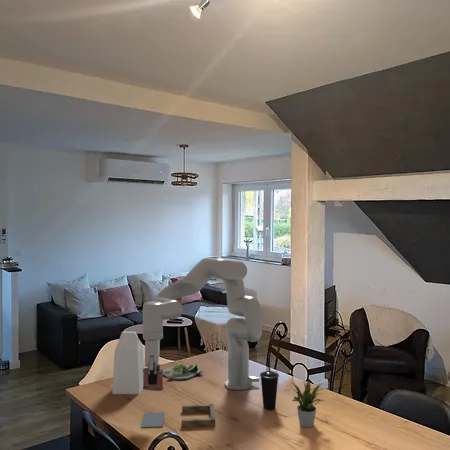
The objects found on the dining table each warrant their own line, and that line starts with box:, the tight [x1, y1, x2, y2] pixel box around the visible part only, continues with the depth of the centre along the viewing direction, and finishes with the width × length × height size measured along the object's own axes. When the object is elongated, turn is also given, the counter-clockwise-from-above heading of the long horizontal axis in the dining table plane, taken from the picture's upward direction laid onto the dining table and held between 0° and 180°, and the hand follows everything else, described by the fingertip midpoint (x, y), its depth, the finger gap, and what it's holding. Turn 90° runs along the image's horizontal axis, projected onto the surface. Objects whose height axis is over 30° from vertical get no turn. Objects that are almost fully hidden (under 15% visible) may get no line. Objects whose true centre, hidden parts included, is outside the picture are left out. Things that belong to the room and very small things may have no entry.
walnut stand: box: [181, 403, 216, 428], centre depth 174 cm, size 12×14×2 cm
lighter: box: [142, 363, 164, 392], centre depth 172 cm, size 8×3×10 cm, turn 77°
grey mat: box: [140, 411, 165, 429], centre depth 173 cm, size 8×12×1 cm, turn 5°
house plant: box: [292, 380, 326, 429], centre depth 168 cm, size 14×14×16 cm
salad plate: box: [163, 363, 203, 380], centre depth 222 cm, size 19×18×5 cm
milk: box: [111, 331, 145, 395], centre depth 204 cm, size 12×12×26 cm
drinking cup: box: [259, 358, 280, 411], centre depth 183 cm, size 8×8×20 cm
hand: (153, 381), depth 172 cm, fingers closed on lighter, 4 cm apart
